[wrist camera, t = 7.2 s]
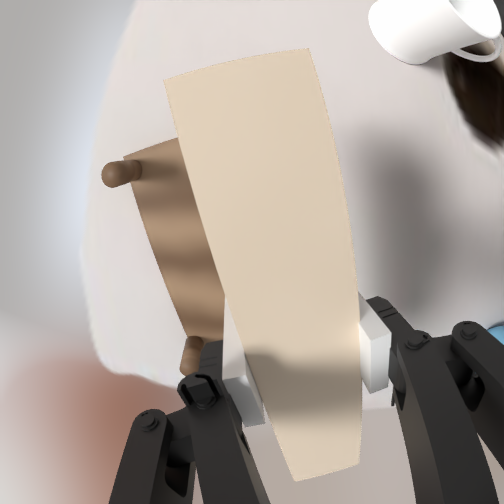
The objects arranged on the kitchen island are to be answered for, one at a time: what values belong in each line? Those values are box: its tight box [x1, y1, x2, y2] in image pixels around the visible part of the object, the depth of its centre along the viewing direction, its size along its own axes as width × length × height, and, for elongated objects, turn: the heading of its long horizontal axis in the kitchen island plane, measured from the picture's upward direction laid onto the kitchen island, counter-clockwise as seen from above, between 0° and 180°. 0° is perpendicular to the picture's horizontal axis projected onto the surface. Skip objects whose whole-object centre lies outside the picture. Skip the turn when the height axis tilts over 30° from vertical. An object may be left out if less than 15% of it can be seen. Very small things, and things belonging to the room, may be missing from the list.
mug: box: [369, 0, 502, 64], centre depth 15 cm, size 12×8×12 cm
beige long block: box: [163, 48, 362, 482], centre depth 12 cm, size 20×4×6 cm, turn 14°
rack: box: [102, 138, 225, 376], centre depth 25 cm, size 22×10×6 cm, turn 14°
